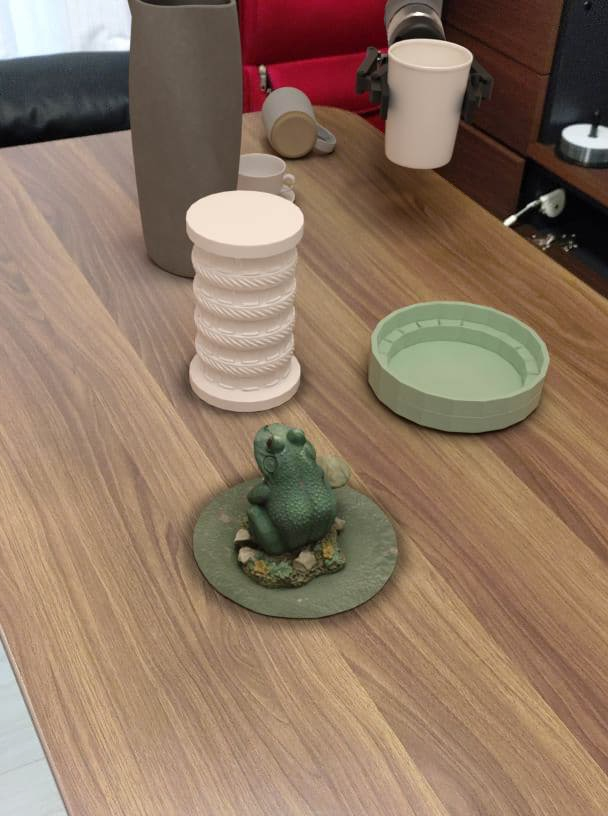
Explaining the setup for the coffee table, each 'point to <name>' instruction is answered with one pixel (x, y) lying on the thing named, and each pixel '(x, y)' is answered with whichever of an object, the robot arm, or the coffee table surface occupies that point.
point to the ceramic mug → (293, 124)
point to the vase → (183, 115)
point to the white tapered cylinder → (425, 101)
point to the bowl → (457, 366)
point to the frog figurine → (295, 534)
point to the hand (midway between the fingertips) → (427, 110)
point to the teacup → (264, 175)
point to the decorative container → (244, 299)
